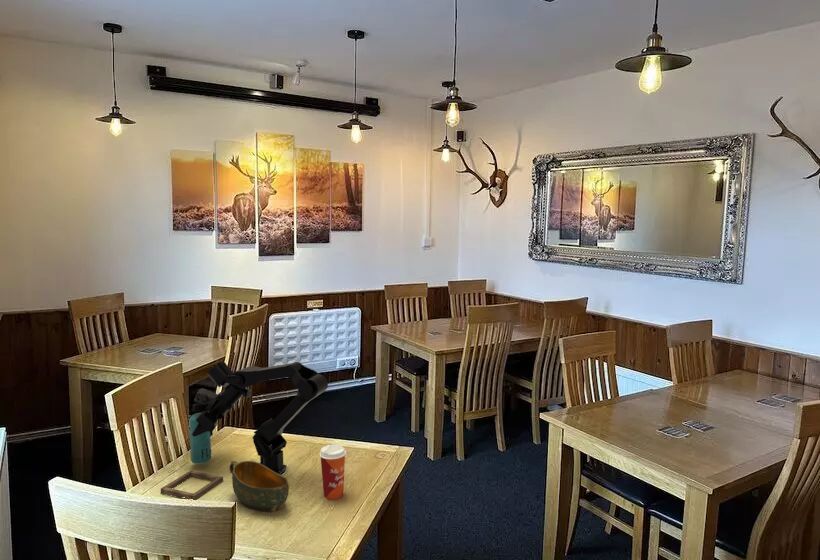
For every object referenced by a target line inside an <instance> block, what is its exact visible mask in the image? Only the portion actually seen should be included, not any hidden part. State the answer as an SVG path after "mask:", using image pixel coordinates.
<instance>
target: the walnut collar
mask: <svg viewBox="0 0 820 560" xmlns="http://www.w3.org/2000/svg"><path fill="white" fill-rule="evenodd" d="M193 477H194V478H195V479H198V478H199V480H204V481H209V483H207V484H205V485H204V486H203V487H202V488H200V489H198V490H197V491H195V492H188V491H185V490H179V489H175V488H176V487H178V486H180V485H181V484H183V483H184V482H186V481H188V480H189V479H191V478H193ZM194 478H193V479H194ZM187 479H188V480H187ZM182 482H183V483H182ZM221 483H224V476H221V475H217V474H216V475H215V474H210V473H206V472H201V471H196V470H193V469H191V470H189V471H188V472H186V473H184V474H182V475H181V476H178V478H175V479H174V480H172V481H170V482H169V483H168V484H166V485H164V486H163V487H161V488H160V494H161V493H163V494H162V495H165V494H167V495H166V496H170V495H172V496H171V497H174V496H176V497H175V498H178V497H185V498H184V500H187V499H193V500H195V501H197V500H198V499H200V498H201V497H203V496H205V494H207V493H208V492H210V491H211V490H213V489H214V488H216V487H218V486H219V485H221ZM179 484H180V485H179ZM177 485H178V486H177ZM174 487H175V488H174ZM172 488H173V489H172Z"/></svg>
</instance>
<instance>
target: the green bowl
mask: <svg viewBox="0 0 820 560" xmlns="http://www.w3.org/2000/svg"><path fill="white" fill-rule="evenodd" d="M229 471H230V474H231V478H232V481H231V482H232V483H231V484H232V490H233V492H234V496H235V497H236V499H237V500H238V502H239V504H240V505H241V506H242V507H244V508H245V509H249V510H252V511H255V512H259V513H277V512H278V511H280V510H282V508H283V506H284V505H285V503H286V502H287V500H288V496H289V493H290V492H289V489H290V486H289V480H288V478H286V477H285V476H283V475H281V474H280V473H276V472H274V471H272V470H271V469H269V468H267V467H266V466H264V465H262V464H261V463H260V462H258V461H253V460H244V461H240V462H238V461H235V460H234V461H233V460H232V461H230V464H229Z"/></svg>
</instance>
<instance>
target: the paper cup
mask: <svg viewBox="0 0 820 560" xmlns="http://www.w3.org/2000/svg"><path fill="white" fill-rule="evenodd" d="M346 454H347V451H346V449H345V447H344V446H343V445H341V444H328V445H324V446H322V448H321V449H320V452H319V458H320V465H321V467H320V468H321V478H322V479H321V480H322V486H323V487H322V488H323V496H324V498H326V499H327V500H332V501H333V500H338V499H340V498H342V497H343V496H344V492H345V491H344V489H345V488H344V486H345V464H346V463H345V461H346V460H345V459H346V457H345V456H346Z"/></svg>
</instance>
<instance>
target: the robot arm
mask: <svg viewBox="0 0 820 560" xmlns="http://www.w3.org/2000/svg"><path fill="white" fill-rule="evenodd" d="M206 375H207V376H208V377H209V378H210V379H211V380H212V381H213V382H214V384H215V385H216V386H217V387H218V388H221V387H222V388H224V389H222V391H220V392H219V393H218V394H217V393H215V392H213V391H211V390H208V389H206V388H203V387H202V388H199V389H198V391H197V393H196V395H195V396H194V402H195V403H196V404H197V403H201V404H204V405H206V410H205V411H202V412H200V413H201V414H200V415H199V416H198V417H197V418H196V421H197V422H198V425H197V427H196V428H195V430H194V432H193V433H192V435H193V436H194V437H195V436H197V435H200V434H202V433H205V432H207V431H209V432H210V433H212V432H213V431H214V430H215V429H216V428H217V426H218V424H219V422H218V421H219V420H222V419H223V417H224V416H225V415H226V414H227V413H228V412H229V411H230V410H231V409H232V408H233V407H234V405H235V404H236V403H237V402H238V401H239V400H240V399H241V398H242V397H244V398H245V399H246V398H250V397H252V389H251V388H249V387H250V386H252V385H255V384H258V383H260V382H267V381H272V380H273V381H274V380H278V379H285V378H289V379H290V380H291V381H292V384H293V385H294V387H295V388H296V389H297V392H296V395H295V396H294V398H292V400H291V401H290V402H289V403H288V404H287V405H286V406H285V407H284V409H282V410H281V412H280V413H279V414H278V415H277V416H276V417H275V418H274V419H273V418H272V417H271V418H270V419H268V420H266V421H265V422H263V423H262V424H260V426H259V427H258V429H256V430H255V431H253V433H254V434H253V436H252V441H253V446H254V448H255V451H256V453H257V456H259V459H260V460H259V461H260V462H259V463H260V464H262V465H264V466H266V467H267V468H269V469H271V470H272V471H274V472H276V473H278V474H280V472H282V471H283V470H284V469H286V468H287V465H286V464H284V450H283V449H285V448H286V446H287V442H288V441H287V440H286V439H285V438H284V436H283V435H282V434H283V433H284V429H285V427H287V426H288V424H289V423H290V422H291V421H292V420H293V419H294V418H295V417H296V416H297V415H298V414H299V413H300V412H301V410H303V408H305V406H307V405H308V403H309V402H310V401H312V400H314V399H315V398H316V397H318V396H319V395H321V394H323V393H324V392H325V391H326V390H327V389H328V387H329V384H328V380H327V378H326V377H325V376H324V375H323V374H320V373H318V372H317V371H316V370H314V369H312V368H309V367H307V366H305V365H304V364H303V363H301V362H299V361H294V362H292V363H286V364H280V365H275V366H274V365H273V366H268V367H267V366H266V367H260V366H255V365H253V366H252V365H250V366H246V367H244V368H242V369H239V370H236V371H232V370H231V368H230V367H229V366H228V365H227V364H226V362H225V361H224V360H222V361H219V362H218V363H217V364H215V365H214V366H213V367H212V368H211V369H209V370H208V372H207V374H206Z"/></svg>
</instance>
